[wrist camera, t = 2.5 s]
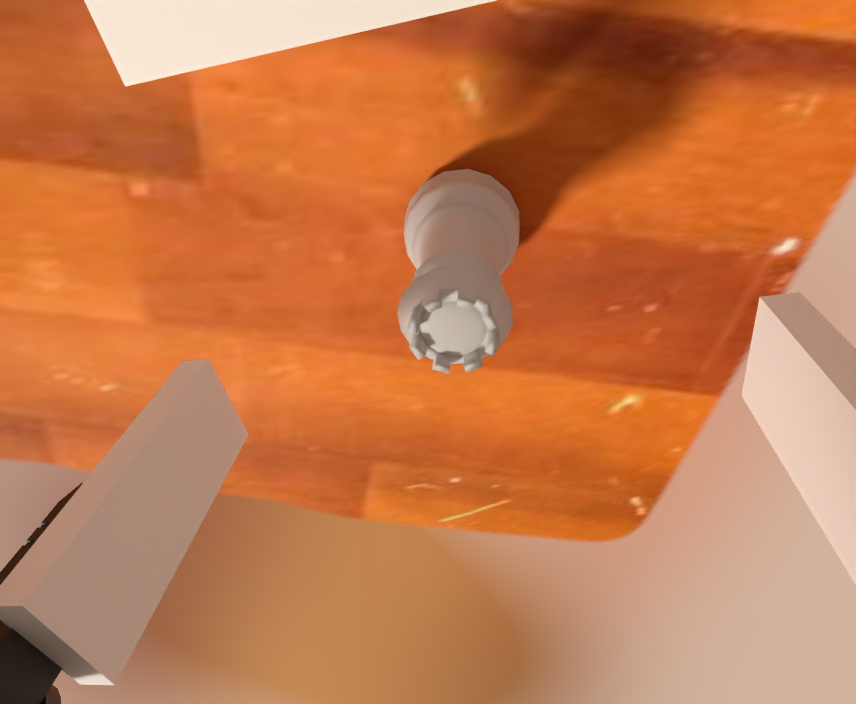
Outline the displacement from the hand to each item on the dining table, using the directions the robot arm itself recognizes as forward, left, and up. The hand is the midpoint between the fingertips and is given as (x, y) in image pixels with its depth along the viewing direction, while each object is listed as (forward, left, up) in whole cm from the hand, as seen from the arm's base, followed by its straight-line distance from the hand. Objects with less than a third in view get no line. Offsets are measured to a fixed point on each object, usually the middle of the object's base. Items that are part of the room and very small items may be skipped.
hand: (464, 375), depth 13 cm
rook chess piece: (0, 0, -10) cm, 10 cm away
